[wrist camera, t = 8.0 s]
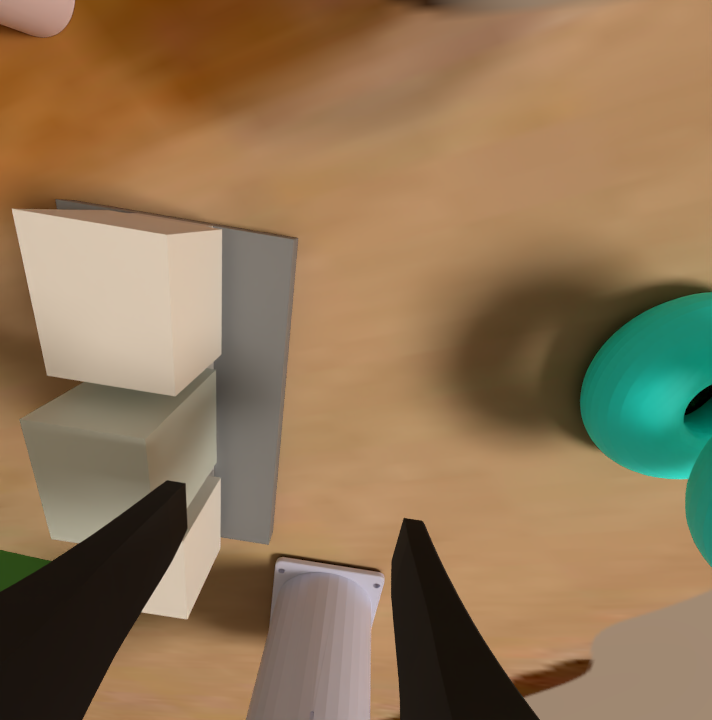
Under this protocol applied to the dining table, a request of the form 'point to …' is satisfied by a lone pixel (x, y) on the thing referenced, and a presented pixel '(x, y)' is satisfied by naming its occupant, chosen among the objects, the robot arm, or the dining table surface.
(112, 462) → the block
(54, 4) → the smoothie
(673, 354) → the donuts
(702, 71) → the dining table surface
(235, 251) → the plate
